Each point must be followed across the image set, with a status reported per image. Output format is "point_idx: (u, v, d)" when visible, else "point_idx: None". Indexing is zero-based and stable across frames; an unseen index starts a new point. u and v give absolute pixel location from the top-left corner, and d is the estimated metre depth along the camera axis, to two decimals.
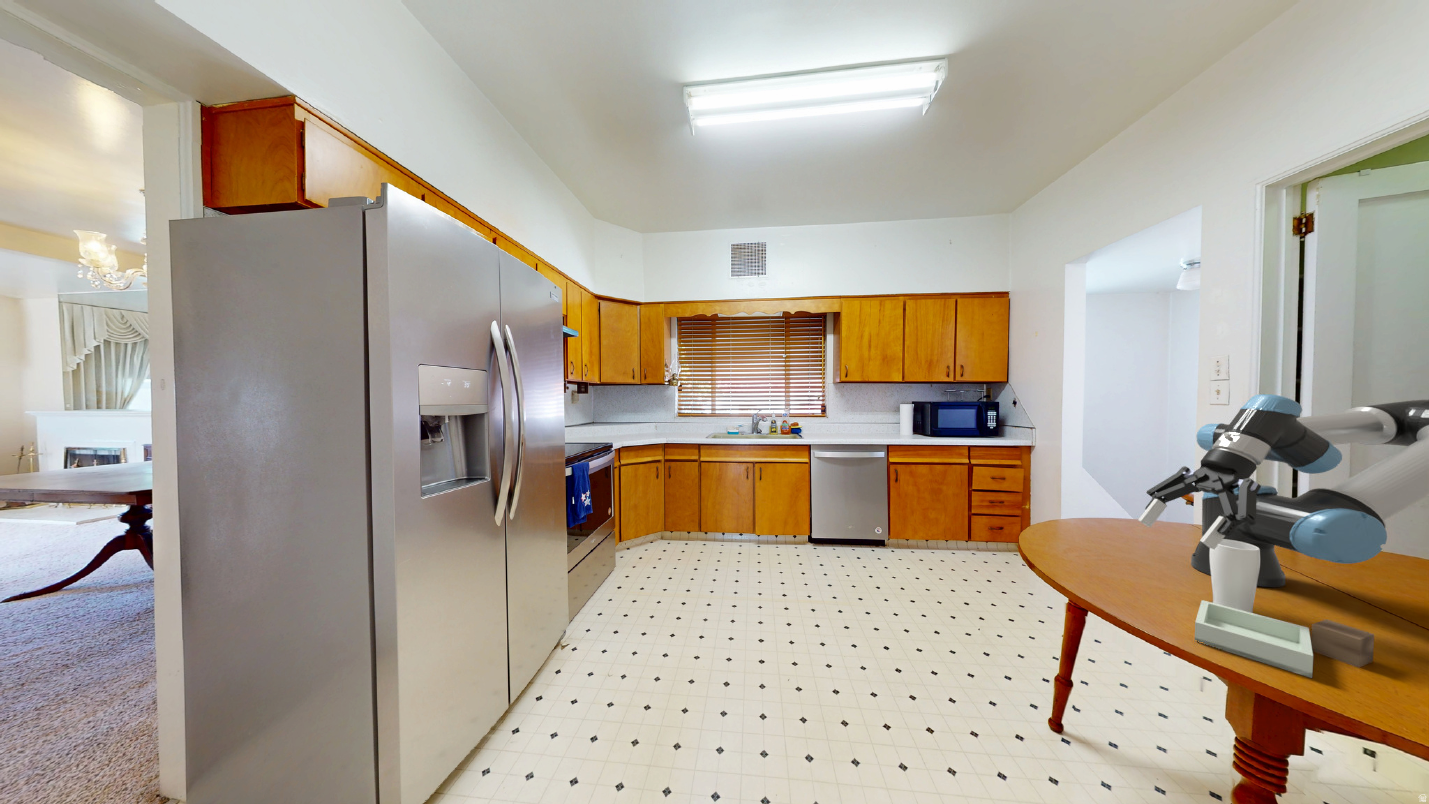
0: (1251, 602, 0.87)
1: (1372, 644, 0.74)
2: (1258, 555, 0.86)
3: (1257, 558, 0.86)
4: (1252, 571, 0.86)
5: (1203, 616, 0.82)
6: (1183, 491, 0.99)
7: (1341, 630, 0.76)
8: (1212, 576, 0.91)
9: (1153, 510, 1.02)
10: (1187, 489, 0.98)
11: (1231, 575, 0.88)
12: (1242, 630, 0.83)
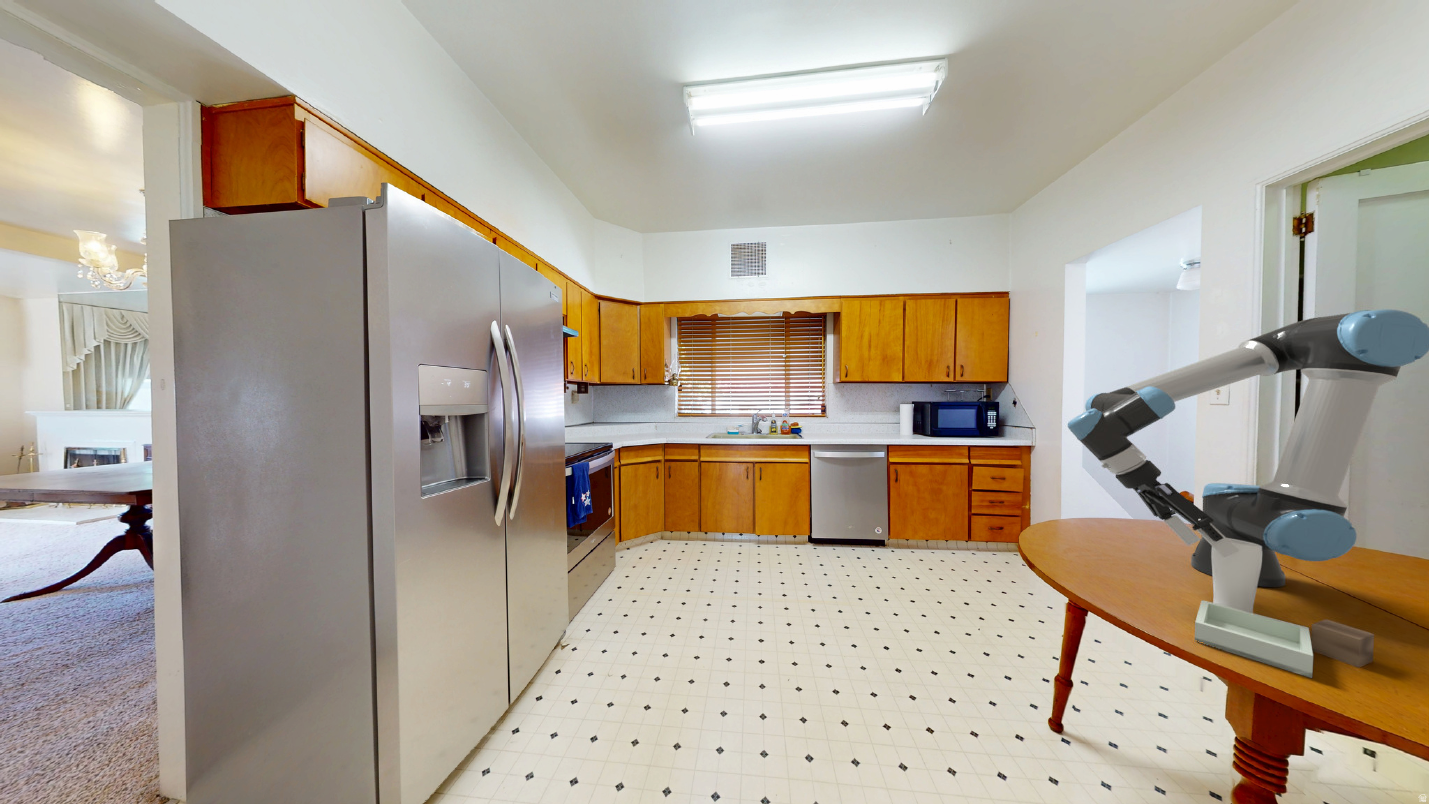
0: (1252, 599, 0.88)
1: (1372, 644, 0.74)
2: (1260, 552, 0.87)
3: (1259, 555, 0.87)
4: (1254, 567, 0.87)
5: (1203, 616, 0.82)
6: (1160, 504, 1.02)
7: (1341, 630, 0.76)
8: (1213, 573, 0.92)
9: (1177, 529, 1.02)
10: (1159, 502, 1.01)
11: (1233, 571, 0.89)
12: (1242, 630, 0.83)
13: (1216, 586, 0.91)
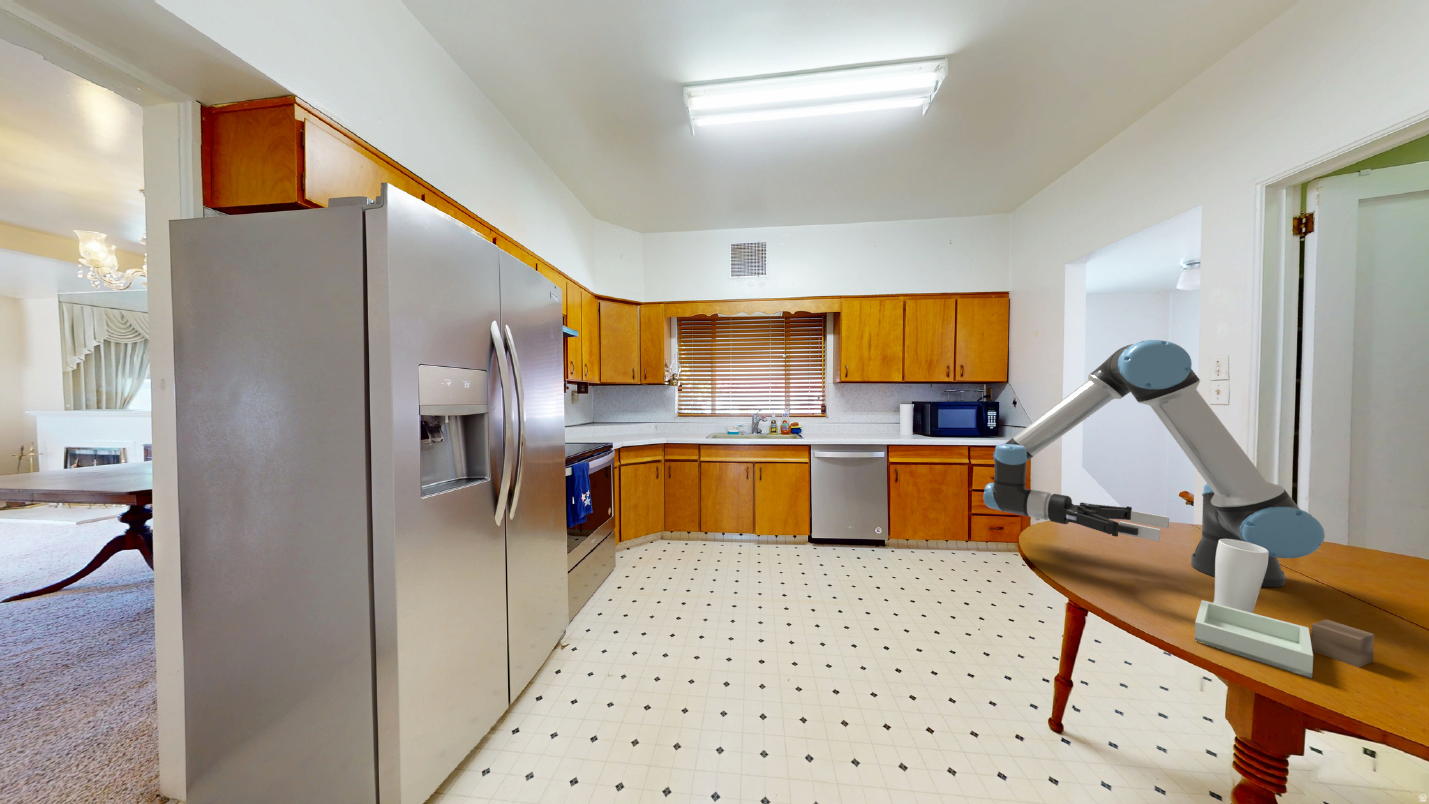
0: (1253, 603, 0.87)
1: (1372, 644, 0.74)
2: (1266, 558, 0.85)
3: (1265, 561, 0.85)
4: (1258, 573, 0.86)
5: (1203, 616, 0.82)
6: (1107, 514, 1.08)
7: (1341, 630, 0.76)
8: (1216, 575, 0.91)
9: (1145, 521, 1.04)
10: (1103, 514, 1.09)
11: (1236, 576, 0.87)
12: (1242, 630, 0.83)
13: (1217, 588, 0.90)
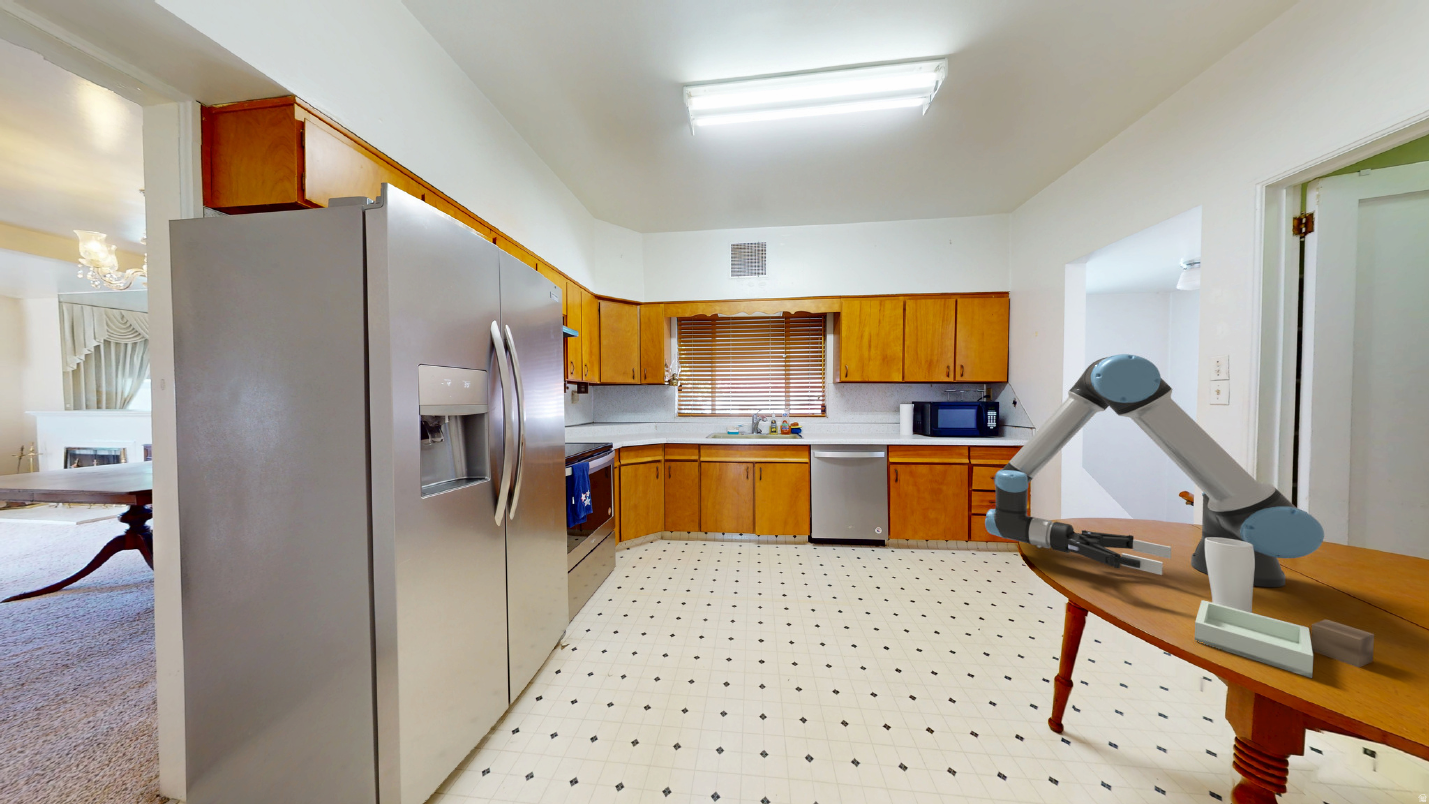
0: (1249, 600, 0.88)
1: (1372, 644, 0.74)
2: (1251, 551, 0.87)
3: (1250, 555, 0.87)
4: (1246, 567, 0.87)
5: (1203, 616, 0.82)
6: (1109, 542, 1.08)
7: (1341, 630, 0.76)
8: (1209, 574, 0.92)
9: (1148, 551, 1.04)
10: (1105, 543, 1.09)
11: (1226, 572, 0.89)
12: (1242, 630, 0.83)
13: (1213, 588, 0.91)
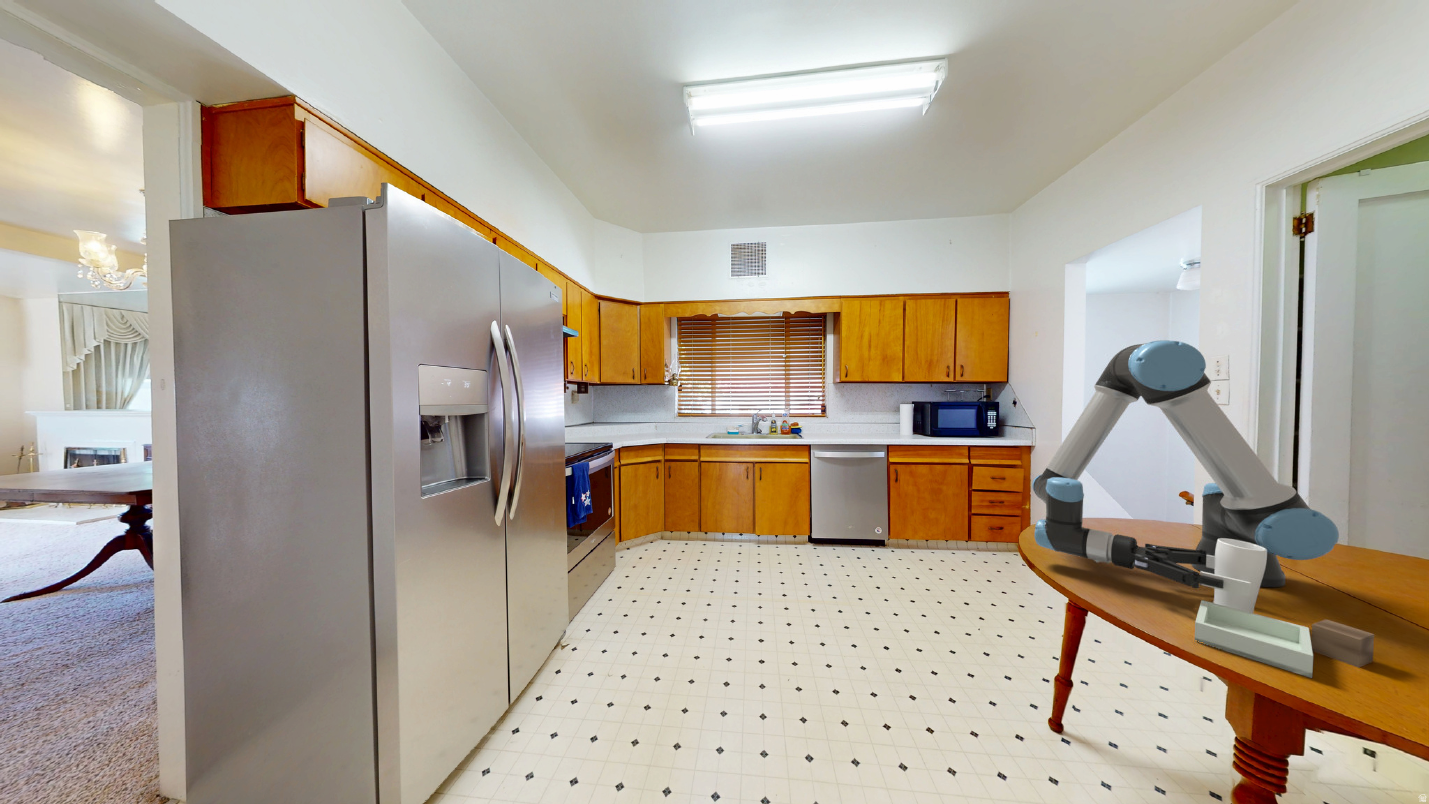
0: (1252, 602, 0.87)
1: (1372, 644, 0.74)
2: (1264, 556, 0.86)
3: (1262, 559, 0.86)
4: (1255, 571, 0.86)
5: (1203, 616, 0.82)
6: (1179, 558, 0.99)
7: (1341, 630, 0.76)
8: None
9: None
10: (1174, 558, 0.99)
11: (1233, 574, 0.88)
12: (1242, 630, 0.83)
13: None
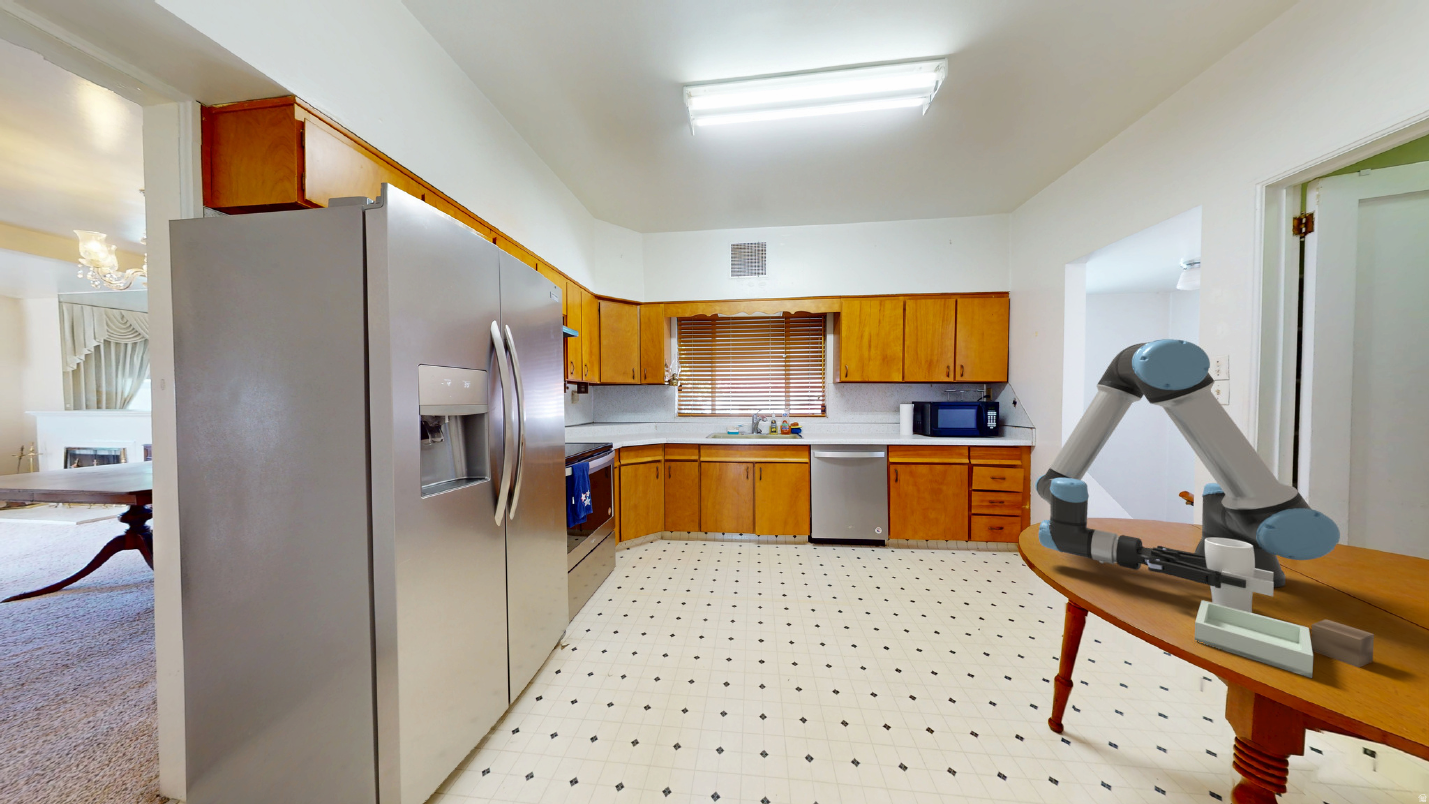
0: (1248, 600, 0.87)
1: (1372, 644, 0.74)
2: (1251, 553, 0.87)
3: (1249, 556, 0.87)
4: (1245, 569, 0.87)
5: (1203, 616, 0.82)
6: (1188, 562, 0.96)
7: (1341, 630, 0.76)
8: None
9: None
10: (1183, 561, 0.97)
11: None
12: (1242, 630, 0.83)
13: (1212, 588, 0.91)
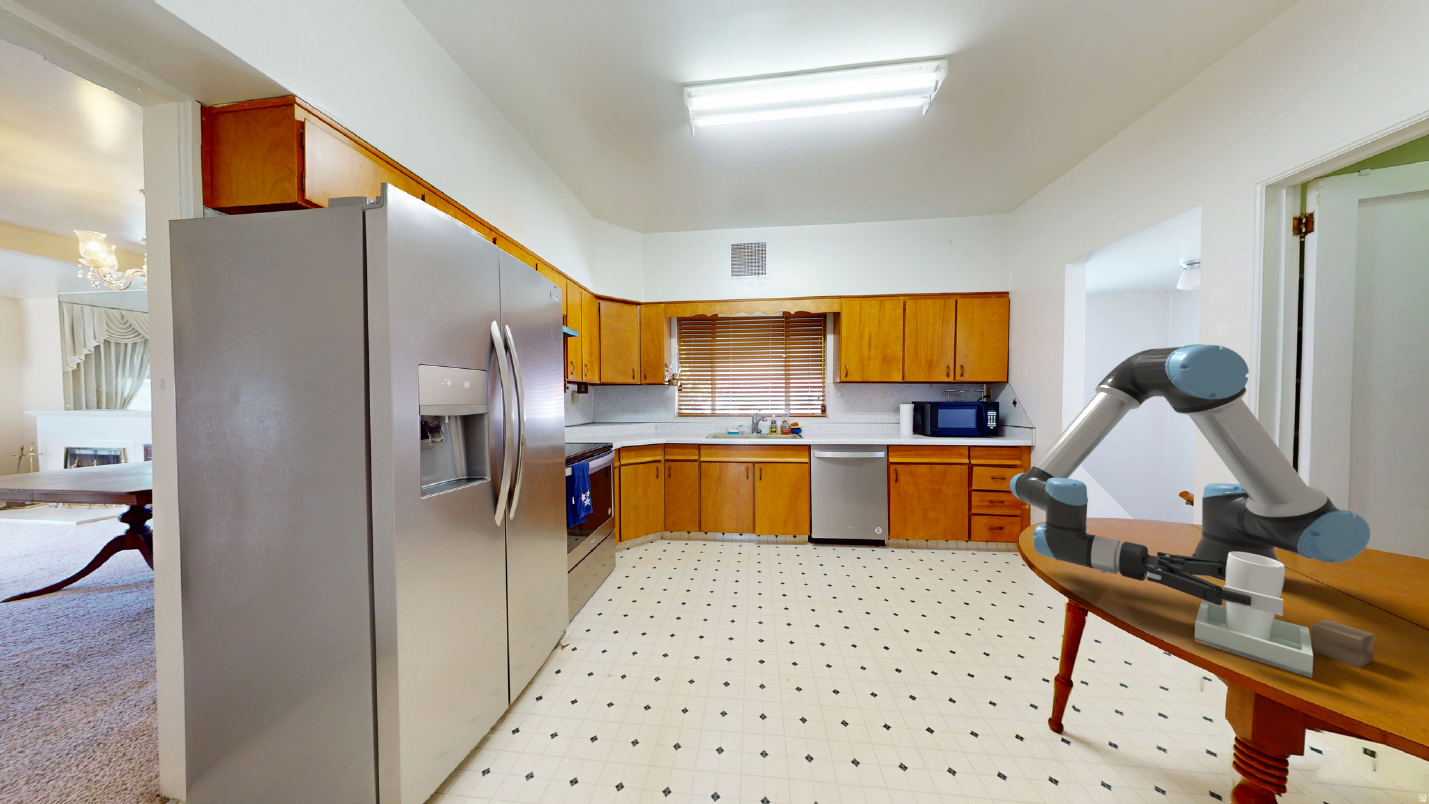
0: (1269, 624, 0.78)
1: (1372, 644, 0.74)
2: (1281, 573, 0.77)
3: (1280, 576, 0.77)
4: (1272, 590, 0.77)
5: (1203, 616, 0.82)
6: (1196, 569, 0.87)
7: (1341, 630, 0.76)
8: None
9: None
10: (1191, 569, 0.88)
11: None
12: None
13: (1228, 606, 0.82)
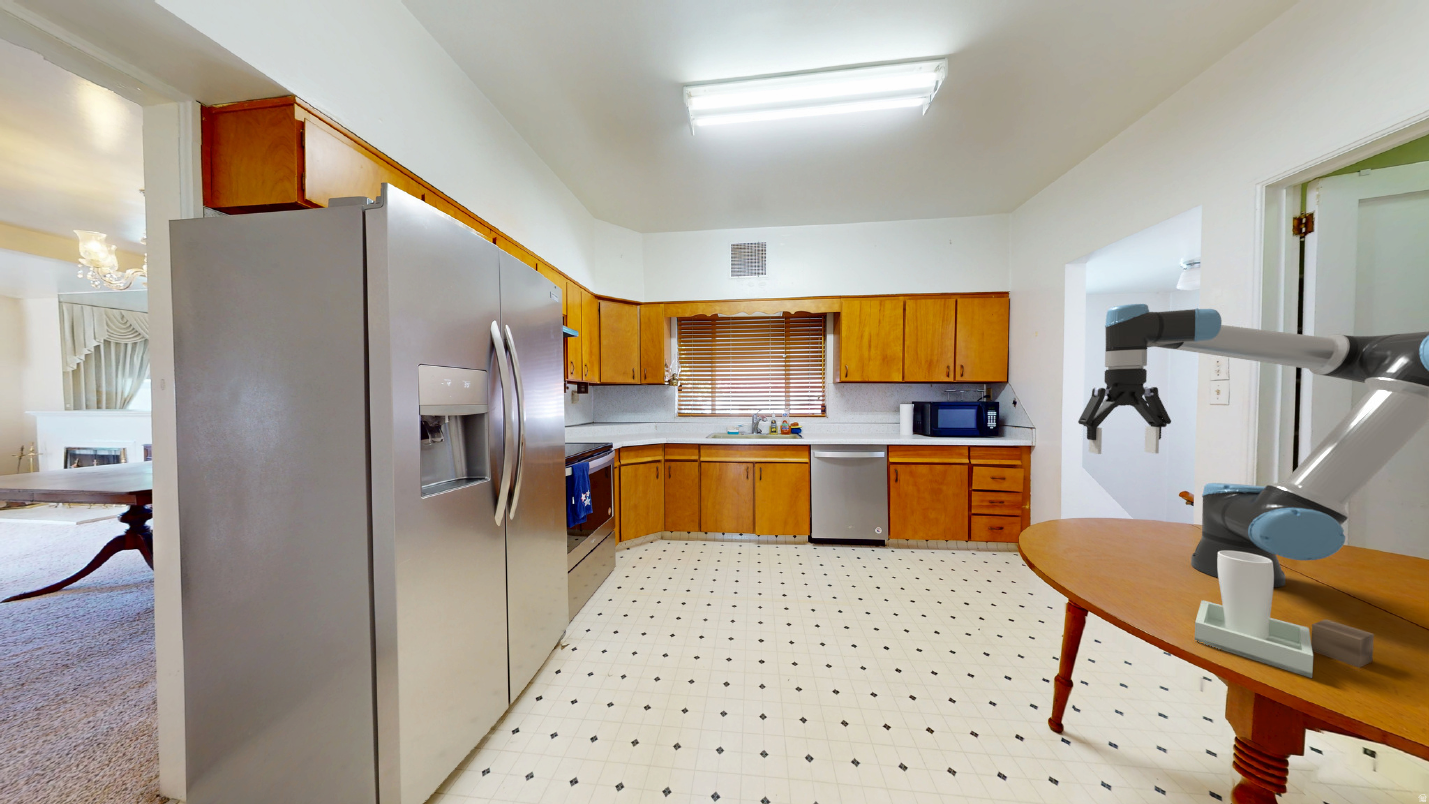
0: (1266, 621, 0.79)
1: (1372, 644, 0.74)
2: (1271, 568, 0.78)
3: (1269, 572, 0.78)
4: (1265, 586, 0.78)
5: (1203, 616, 0.82)
6: (1141, 410, 1.06)
7: (1341, 630, 0.76)
8: (1221, 592, 0.83)
9: (1147, 437, 1.06)
10: (1138, 408, 1.06)
11: (1241, 591, 0.80)
12: None
13: (1225, 607, 0.82)
